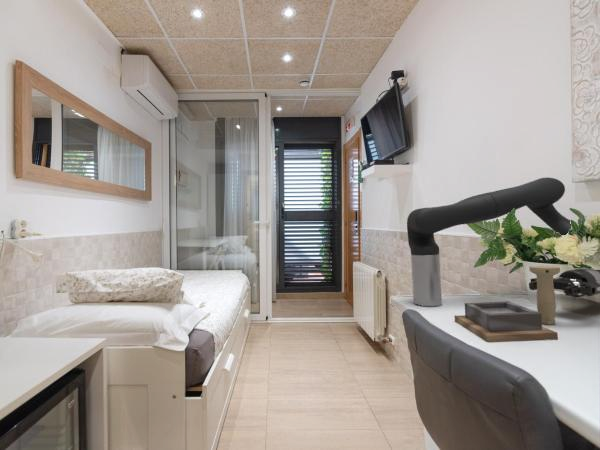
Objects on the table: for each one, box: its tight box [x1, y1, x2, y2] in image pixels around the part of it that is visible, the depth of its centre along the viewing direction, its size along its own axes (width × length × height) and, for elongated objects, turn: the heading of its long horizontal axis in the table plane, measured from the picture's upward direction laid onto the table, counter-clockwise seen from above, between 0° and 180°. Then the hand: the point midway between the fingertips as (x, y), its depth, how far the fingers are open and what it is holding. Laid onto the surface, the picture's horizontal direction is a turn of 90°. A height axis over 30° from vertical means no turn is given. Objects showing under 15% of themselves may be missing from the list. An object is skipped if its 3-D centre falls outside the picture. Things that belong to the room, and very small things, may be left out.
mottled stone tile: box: [484, 308, 516, 313], centre depth 80 cm, size 8×8×1 cm
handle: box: [528, 265, 561, 325], centre depth 83 cm, size 5×6×15 cm
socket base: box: [454, 300, 559, 343], centre depth 80 cm, size 16×16×6 cm
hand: (548, 288), depth 83 cm, fingers open, 8 cm apart
